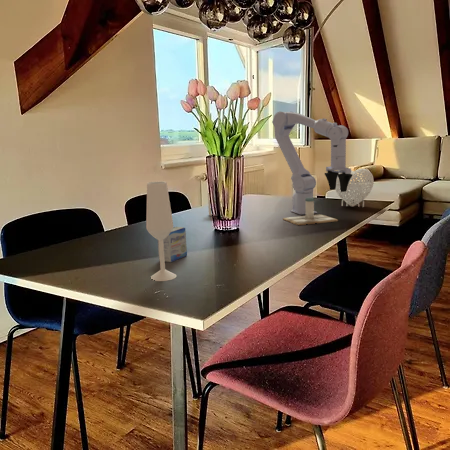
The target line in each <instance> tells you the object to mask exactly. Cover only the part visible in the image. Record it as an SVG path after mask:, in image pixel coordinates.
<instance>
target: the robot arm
mask: <svg viewBox="0 0 450 450" xmlns="http://www.w3.org/2000/svg"><path fill="white" fill-rule="evenodd" d="M271 123H272V125H273V127H274V137H275V140H276V141H277V144H278V147H279V148H280V151H281V152H282V153H281V154H282V155H283V157H284V159H285V162H287V165H288V167H289V169H290V172H291V173H292V174H291V178H290V180H291V182H292V187H293V188H292V189H294V190H293V191H295V192H294V193H293V194H292V210H290V212H292V213H295V214H297V215H301V216H303V215H306V201H305V198H314V189H315V188H316V185H317V180H316V177H314V176H313V175H312V174H311V172H310V171H309V170H308V169H306V168H305V167H304V165H303V161H302V160H301V158H300V156H299V154H298V151H297V150H296V147H295V145H294V144H293V142H292V140H291V138H290V134H291V132H292V130H293V129H294V127H295V125H299V124H300V125H302V126H306V127H308V128H312V129H313V132H315V133H316V134H318V135H321V136H324V137H326V138H328V139H329V140H330V166H326V167H325V171H326V172H324V176H325V177H326V179H327V183H328V187H329V190H330V191H336V190H335V188H336V180H337V176H338V178H339V181H340V191H341V192H346V190H347V187H348V183H349V181H351V180H350V179H351V177H352V174H351V170H352V168H349V167H347V166H346V165H347V164H346V161H347V160H346V159H347V157H346V155H347V154H346V153H347V152H346V151H347V145H346V144H347V138H348V136H349V129H348V128H347V127H346V126H345V125H344V124H341V125H340V124H339V125H338V123H337V122H331V121H328V120H327V118H319V119H317V120H316V119H314V118H311V117H308V116H306V115H304V114H302V113H300V112H299V113H298V112H294V111H277V112H275V114H274V116H273V119H272V122H271ZM338 173H342V174H338ZM346 193H347V192H346ZM314 214H318V212H317V211H315V210H314Z"/></svg>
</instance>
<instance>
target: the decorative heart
mask: <svg viewBox="0 0 450 450" xmlns="http://www.w3.org/2000/svg"><path fill="white" fill-rule="evenodd" d="M338 174H342V173H338ZM351 174H352V177H351V179H350V181H349V183H348V186H347V190H346V192H341V190H340V181H339V178H338V176H337V180H336V188H335V190H334V191H335V192H336V193H337V195H338V196H339V198H341V207H343V206H344V202H345V203H346V205H345V206H346V207H348V206H350V207H355V206H358V207H359V208H360V203H361V202H362V208H364V207H365V199H366V198H367V197H368V196H369V194H370V193H371V191H372V189H373V186H374V182H375V181H374V176H373V173H372V172H371V171H370V170H369V169H367V168H359V169H355V170H354V171H353V170H352V169H351Z"/></svg>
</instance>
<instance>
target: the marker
mask: <svg viewBox="0 0 450 450" xmlns="http://www.w3.org/2000/svg"><path fill="white" fill-rule="evenodd" d="M305 201H306V214H305V216H306V219H314V215H315V213H314V211H315V197H313V198H305Z"/></svg>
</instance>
